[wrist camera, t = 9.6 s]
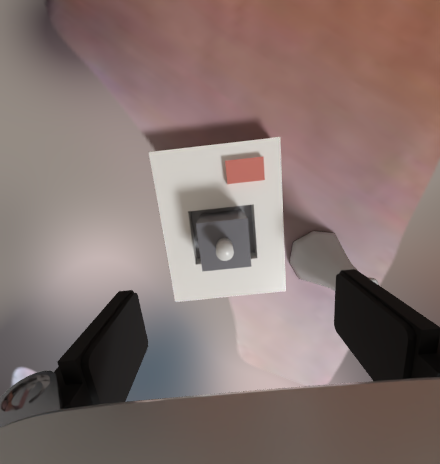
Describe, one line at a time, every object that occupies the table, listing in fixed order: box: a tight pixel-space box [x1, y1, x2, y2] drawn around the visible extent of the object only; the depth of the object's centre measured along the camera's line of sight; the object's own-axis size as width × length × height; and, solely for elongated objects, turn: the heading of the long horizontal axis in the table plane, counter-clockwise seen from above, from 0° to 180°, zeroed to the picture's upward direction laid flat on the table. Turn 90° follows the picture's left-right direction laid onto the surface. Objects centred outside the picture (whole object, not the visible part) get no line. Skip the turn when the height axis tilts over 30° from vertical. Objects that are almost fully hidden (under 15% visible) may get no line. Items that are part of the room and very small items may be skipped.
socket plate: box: [149, 137, 286, 302], centre depth 26 cm, size 18×14×4 cm
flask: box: [290, 231, 379, 291], centre depth 24 cm, size 7×7×10 cm
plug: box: [196, 210, 251, 272], centre depth 23 cm, size 5×5×8 cm
